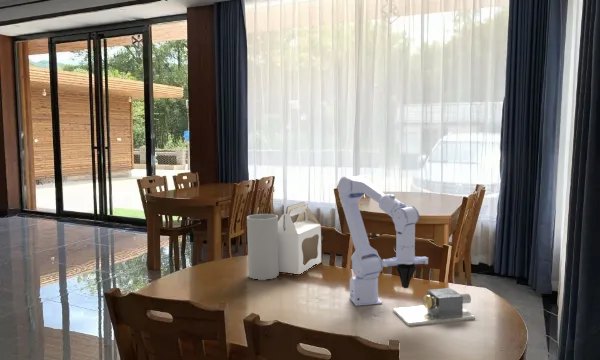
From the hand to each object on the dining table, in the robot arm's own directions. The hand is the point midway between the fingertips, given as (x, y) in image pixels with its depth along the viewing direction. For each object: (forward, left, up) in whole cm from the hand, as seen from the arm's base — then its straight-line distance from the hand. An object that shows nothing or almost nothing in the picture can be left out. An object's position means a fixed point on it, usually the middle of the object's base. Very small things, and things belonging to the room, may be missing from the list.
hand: (405, 287), depth 149 cm
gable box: (-23, +62, -10) cm, 67 cm away
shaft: (+14, -1, -7) cm, 16 cm away
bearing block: (+9, -2, -10) cm, 13 cm away
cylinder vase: (-39, +52, -10) cm, 66 cm away
